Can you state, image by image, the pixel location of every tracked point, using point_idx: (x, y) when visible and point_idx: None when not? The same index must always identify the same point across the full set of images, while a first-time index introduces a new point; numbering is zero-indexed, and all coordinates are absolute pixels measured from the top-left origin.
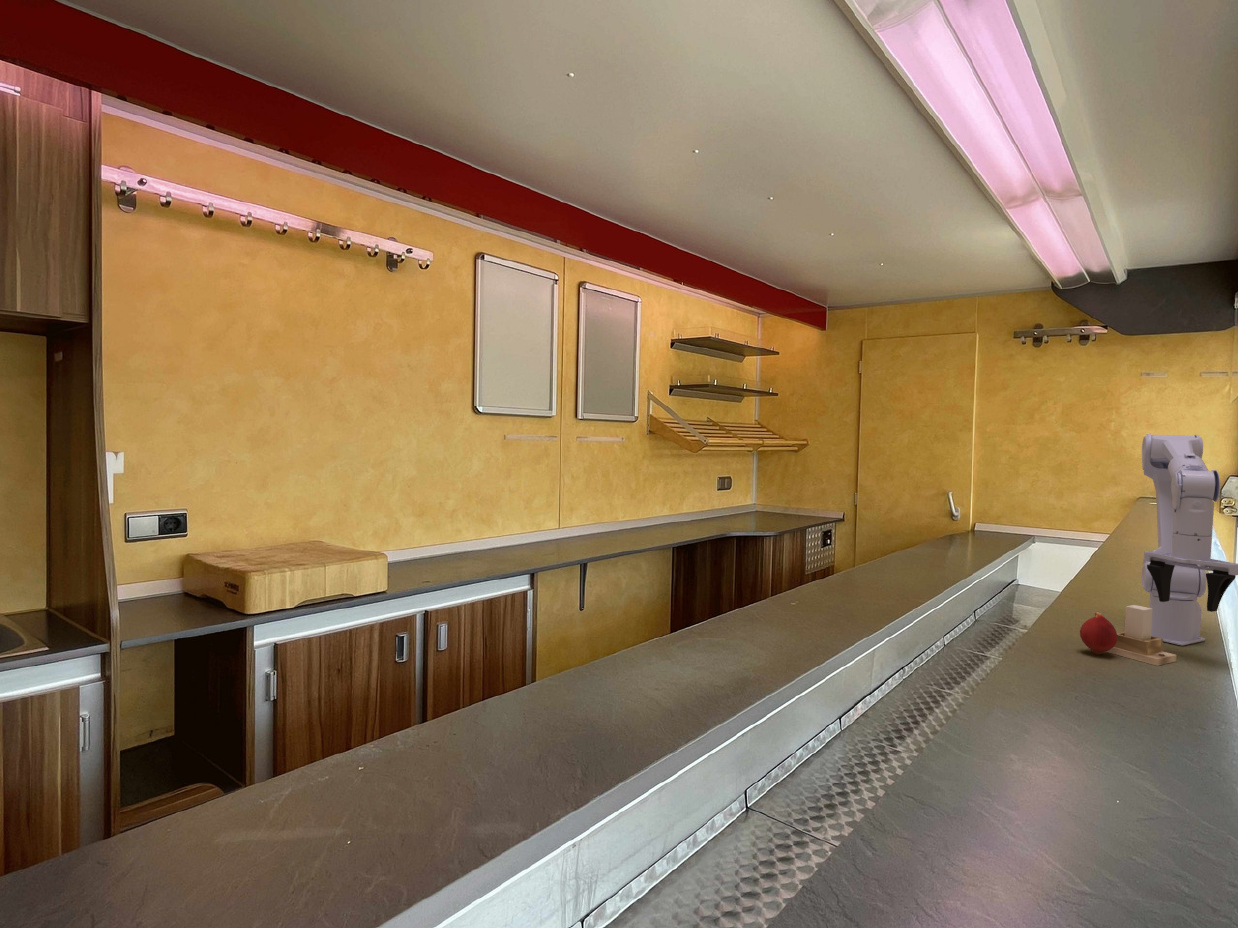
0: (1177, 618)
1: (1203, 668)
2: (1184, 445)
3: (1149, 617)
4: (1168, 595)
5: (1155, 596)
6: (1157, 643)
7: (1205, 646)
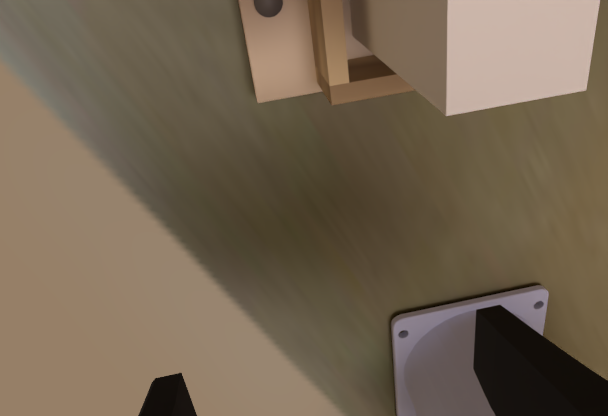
0: (463, 410)
1: (142, 116)
2: None
3: (417, 52)
4: (494, 396)
5: None
6: (320, 39)
7: (361, 390)
